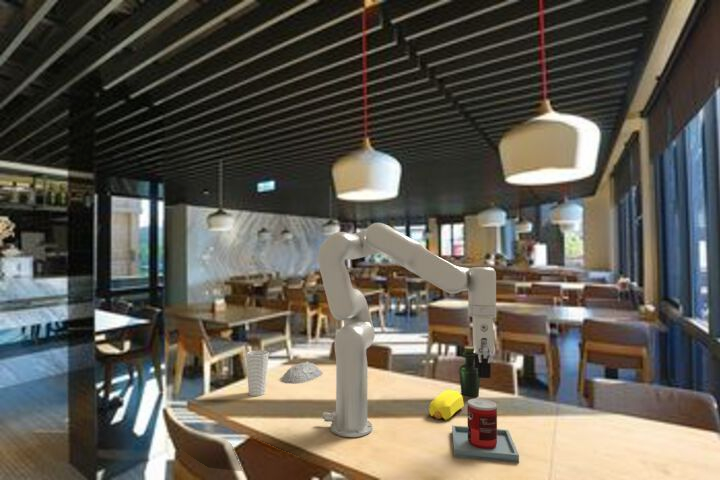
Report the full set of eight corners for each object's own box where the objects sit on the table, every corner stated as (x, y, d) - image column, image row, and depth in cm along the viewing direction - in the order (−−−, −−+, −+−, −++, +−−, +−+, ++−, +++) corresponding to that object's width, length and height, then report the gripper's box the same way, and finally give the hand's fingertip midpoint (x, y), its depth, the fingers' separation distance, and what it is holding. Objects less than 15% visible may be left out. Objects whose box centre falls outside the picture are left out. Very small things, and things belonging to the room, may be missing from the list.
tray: (454, 457, 108) (454, 449, 108) (452, 432, 123) (452, 425, 124) (519, 463, 105) (518, 455, 105) (508, 436, 120) (508, 429, 121)
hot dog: (466, 407, 145) (446, 403, 149) (466, 388, 145) (446, 384, 149) (447, 424, 130) (425, 419, 134) (447, 402, 130) (425, 398, 134)
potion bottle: (477, 391, 162) (477, 345, 163) (483, 398, 154) (483, 349, 155) (456, 391, 162) (456, 345, 163) (461, 398, 154) (461, 349, 155)
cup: (265, 397, 153) (266, 355, 154) (242, 397, 153) (243, 355, 154) (270, 390, 161) (271, 350, 162) (249, 390, 161) (249, 350, 162)
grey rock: (329, 370, 191) (328, 355, 191) (304, 388, 168) (302, 372, 168) (300, 370, 196) (299, 356, 197) (271, 388, 173) (270, 372, 173)
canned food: (474, 434, 120) (474, 396, 120) (501, 442, 115) (501, 402, 115) (462, 443, 114) (462, 403, 114) (490, 452, 109) (490, 410, 109)
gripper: (500, 315, 107) (500, 382, 106) (491, 308, 124) (492, 365, 123) (470, 314, 108) (470, 380, 107) (466, 307, 125) (466, 364, 124)
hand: (482, 372), depth 115 cm, fingers open, 9 cm apart
